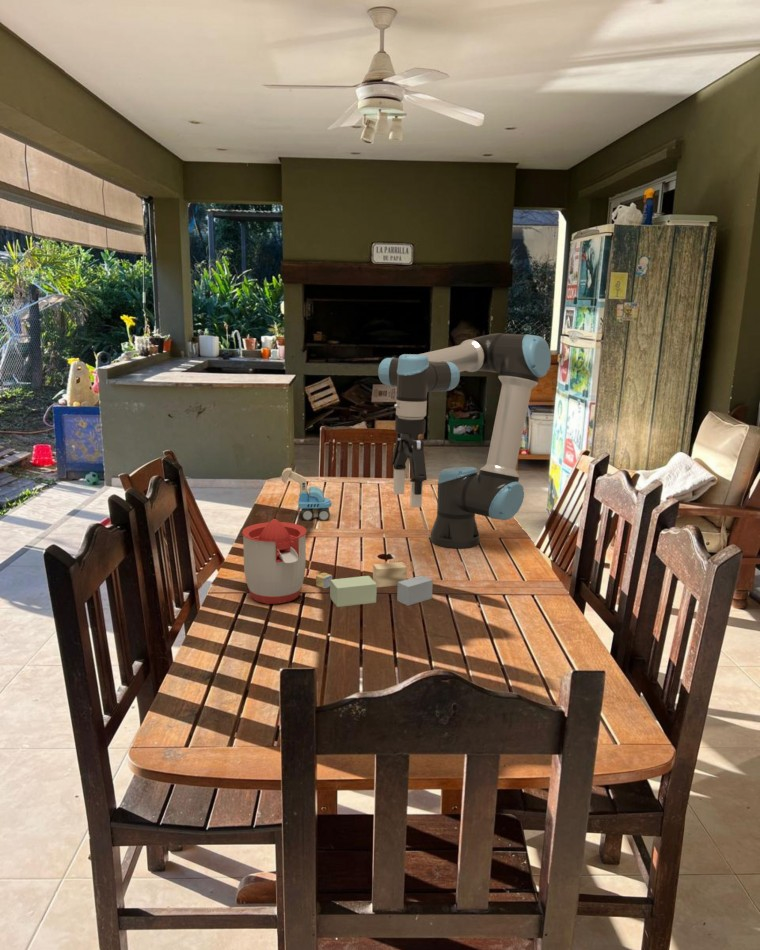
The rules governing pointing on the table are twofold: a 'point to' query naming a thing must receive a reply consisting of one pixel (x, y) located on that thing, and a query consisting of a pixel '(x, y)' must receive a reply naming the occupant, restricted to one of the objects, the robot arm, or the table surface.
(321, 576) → the alphabet block
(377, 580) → the maple brick
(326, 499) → the toy excavator
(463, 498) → the robot arm
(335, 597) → the sage brick
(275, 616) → the table surface
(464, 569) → the table surface
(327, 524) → the table surface
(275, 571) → the citrus juicer
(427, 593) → the slate brick
